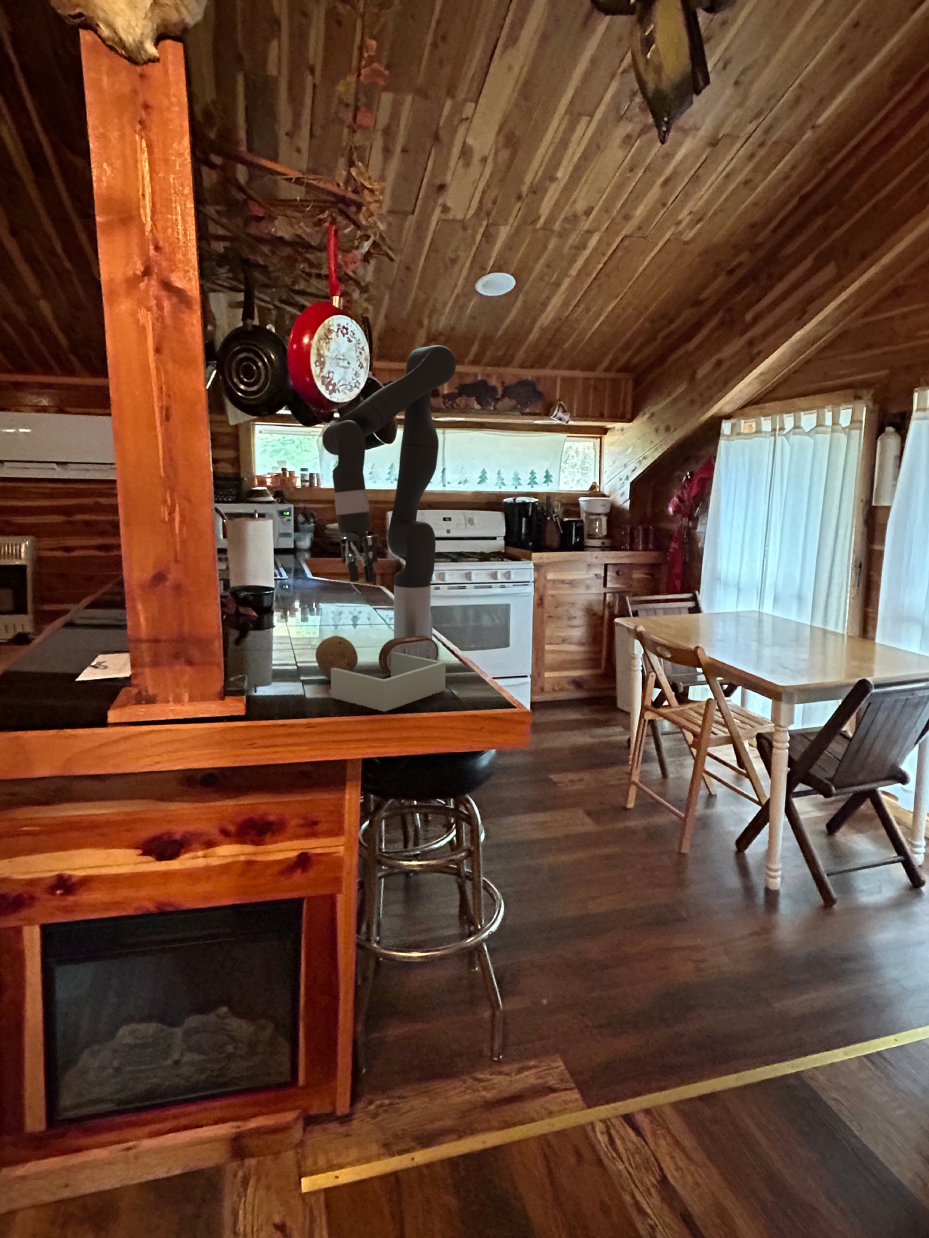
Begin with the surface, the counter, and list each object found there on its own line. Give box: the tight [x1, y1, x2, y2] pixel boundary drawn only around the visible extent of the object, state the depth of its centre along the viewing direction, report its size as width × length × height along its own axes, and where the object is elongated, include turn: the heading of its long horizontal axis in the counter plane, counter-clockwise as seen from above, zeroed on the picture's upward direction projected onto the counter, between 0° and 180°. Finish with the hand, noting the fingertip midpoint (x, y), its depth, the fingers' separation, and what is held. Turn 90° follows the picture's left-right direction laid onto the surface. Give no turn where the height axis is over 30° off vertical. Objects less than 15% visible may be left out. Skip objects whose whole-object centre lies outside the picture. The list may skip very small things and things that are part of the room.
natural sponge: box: [315, 635, 359, 681], centre depth 164 cm, size 9×9×10 cm
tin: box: [378, 635, 439, 676], centre depth 172 cm, size 15×3×8 cm, turn 128°
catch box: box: [330, 652, 447, 712], centre depth 156 cm, size 19×14×6 cm
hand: (362, 582), depth 175 cm, fingers open, 8 cm apart
